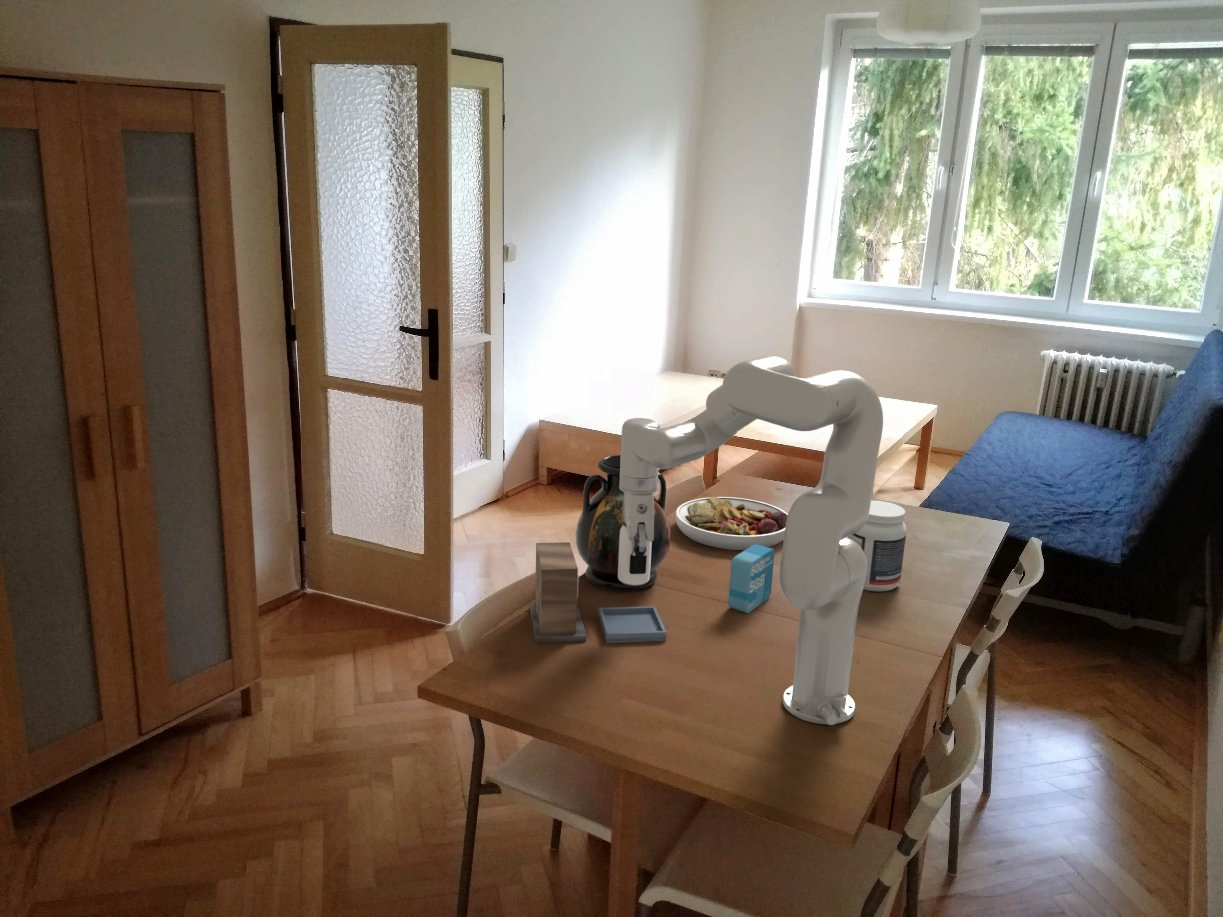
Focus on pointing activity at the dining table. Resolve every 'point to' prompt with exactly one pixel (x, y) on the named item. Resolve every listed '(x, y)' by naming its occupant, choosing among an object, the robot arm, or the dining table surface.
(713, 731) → the dining table surface
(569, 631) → the block
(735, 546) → the bowl
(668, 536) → the amphora vase
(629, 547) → the can
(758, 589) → the data package
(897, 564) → the supplement tub
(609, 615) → the tray
